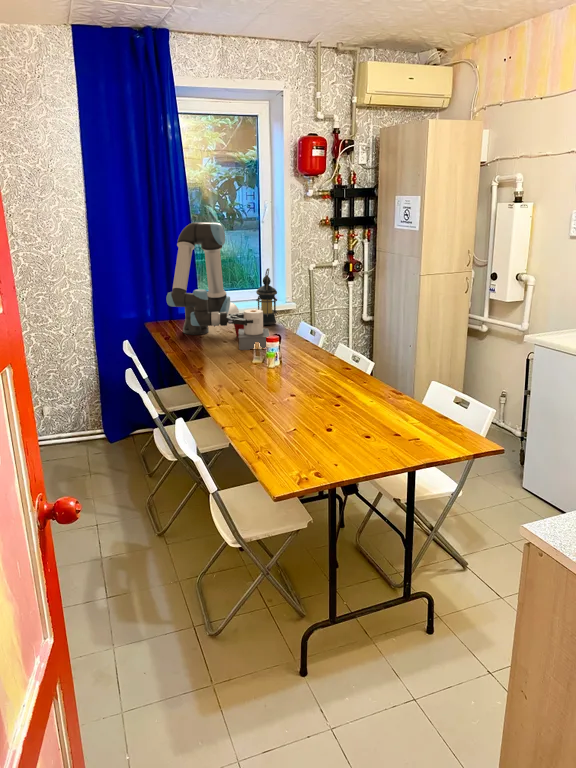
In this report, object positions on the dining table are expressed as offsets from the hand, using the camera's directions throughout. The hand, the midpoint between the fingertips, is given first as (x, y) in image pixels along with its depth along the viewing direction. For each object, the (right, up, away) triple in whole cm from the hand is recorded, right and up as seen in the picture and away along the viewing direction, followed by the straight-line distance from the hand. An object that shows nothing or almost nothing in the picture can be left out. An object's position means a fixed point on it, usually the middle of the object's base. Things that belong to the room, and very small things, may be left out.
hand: (259, 318), depth 324 cm
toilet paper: (-3, -8, +2) cm, 9 cm away
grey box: (-3, -14, +5) cm, 15 cm away
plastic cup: (-11, -8, +23) cm, 27 cm away
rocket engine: (-26, +5, +62) cm, 68 cm away
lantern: (+2, +2, +52) cm, 52 cm away
